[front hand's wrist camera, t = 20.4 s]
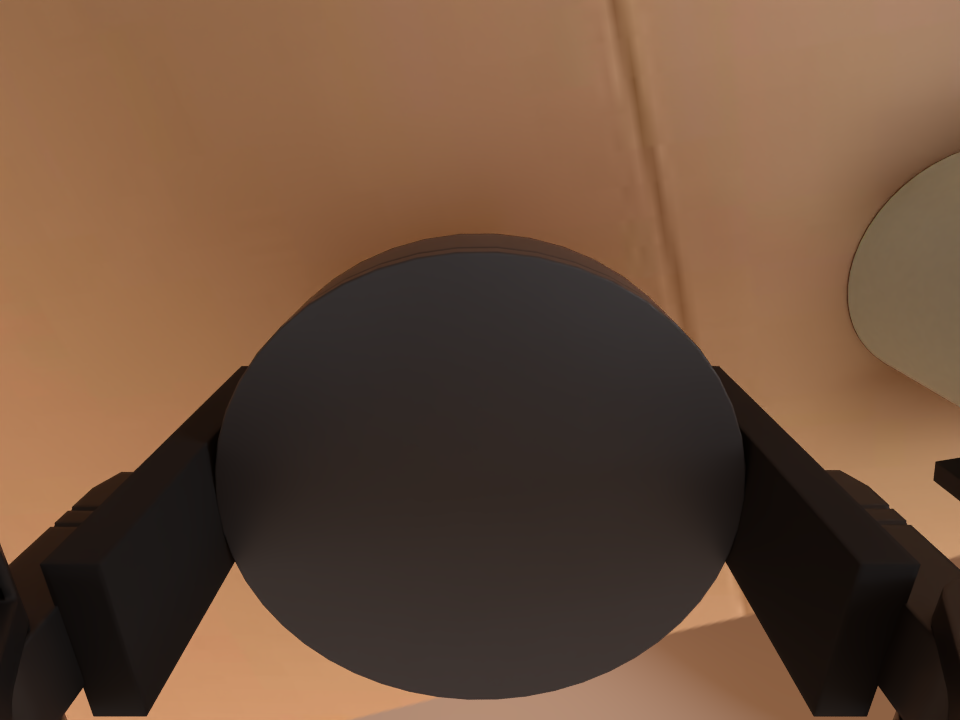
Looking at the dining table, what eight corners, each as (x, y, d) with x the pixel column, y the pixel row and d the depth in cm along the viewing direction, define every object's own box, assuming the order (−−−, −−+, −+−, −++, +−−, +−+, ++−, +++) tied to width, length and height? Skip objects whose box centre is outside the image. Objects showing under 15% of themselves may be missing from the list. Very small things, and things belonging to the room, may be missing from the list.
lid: (745, 572, 13) (783, 635, 11) (362, 673, 14) (347, 742, 13) (651, 154, 10) (685, 159, 8) (162, 329, 11) (106, 364, 9)
